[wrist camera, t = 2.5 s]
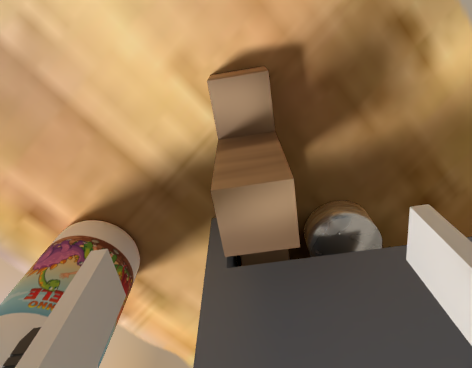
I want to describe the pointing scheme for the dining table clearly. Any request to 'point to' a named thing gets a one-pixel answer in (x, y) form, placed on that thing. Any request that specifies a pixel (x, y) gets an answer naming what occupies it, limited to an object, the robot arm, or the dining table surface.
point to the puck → (340, 230)
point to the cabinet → (323, 314)
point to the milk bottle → (63, 278)
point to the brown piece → (251, 171)
